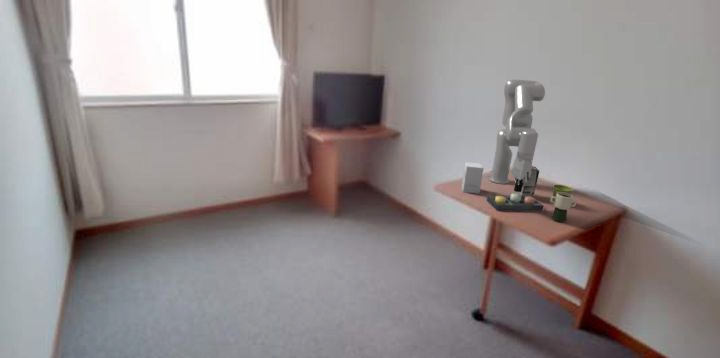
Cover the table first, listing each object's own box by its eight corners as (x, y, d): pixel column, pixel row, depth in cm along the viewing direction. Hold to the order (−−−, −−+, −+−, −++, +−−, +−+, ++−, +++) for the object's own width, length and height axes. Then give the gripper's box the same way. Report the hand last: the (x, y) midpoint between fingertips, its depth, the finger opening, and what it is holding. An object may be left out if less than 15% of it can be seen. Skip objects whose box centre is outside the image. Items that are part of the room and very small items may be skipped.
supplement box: (477, 188, 212) (482, 163, 207) (479, 194, 204) (484, 168, 199) (461, 186, 213) (465, 161, 208) (462, 192, 205) (466, 166, 200)
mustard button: (492, 202, 192) (493, 195, 190) (501, 203, 192) (503, 195, 191) (496, 206, 187) (498, 199, 186) (506, 207, 188) (507, 199, 186)
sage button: (507, 200, 192) (509, 193, 191) (516, 200, 193) (518, 193, 191) (512, 204, 187) (514, 196, 186) (521, 204, 188) (523, 197, 187)
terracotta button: (521, 203, 194) (523, 196, 192) (530, 203, 194) (532, 196, 193) (526, 207, 189) (528, 200, 188) (535, 207, 190) (537, 200, 188)
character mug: (569, 219, 179) (576, 194, 175) (572, 225, 173) (579, 199, 168) (544, 214, 182) (551, 190, 178) (546, 220, 176) (553, 195, 172)
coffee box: (533, 199, 201) (540, 171, 195) (520, 198, 202) (527, 169, 196) (529, 193, 209) (535, 166, 204) (517, 192, 210) (523, 164, 205)
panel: (486, 200, 195) (487, 195, 194) (529, 201, 198) (530, 196, 197) (497, 210, 184) (498, 205, 183) (542, 211, 187) (543, 205, 186)
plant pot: (556, 206, 194) (560, 190, 191) (545, 199, 202) (549, 184, 199) (572, 206, 195) (576, 190, 192) (560, 199, 204) (564, 184, 201)
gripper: (510, 151, 188) (503, 186, 194) (525, 160, 174) (518, 196, 180) (524, 152, 189) (516, 186, 195) (540, 160, 175) (532, 196, 181)
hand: (517, 191), depth 187 cm, fingers closed
